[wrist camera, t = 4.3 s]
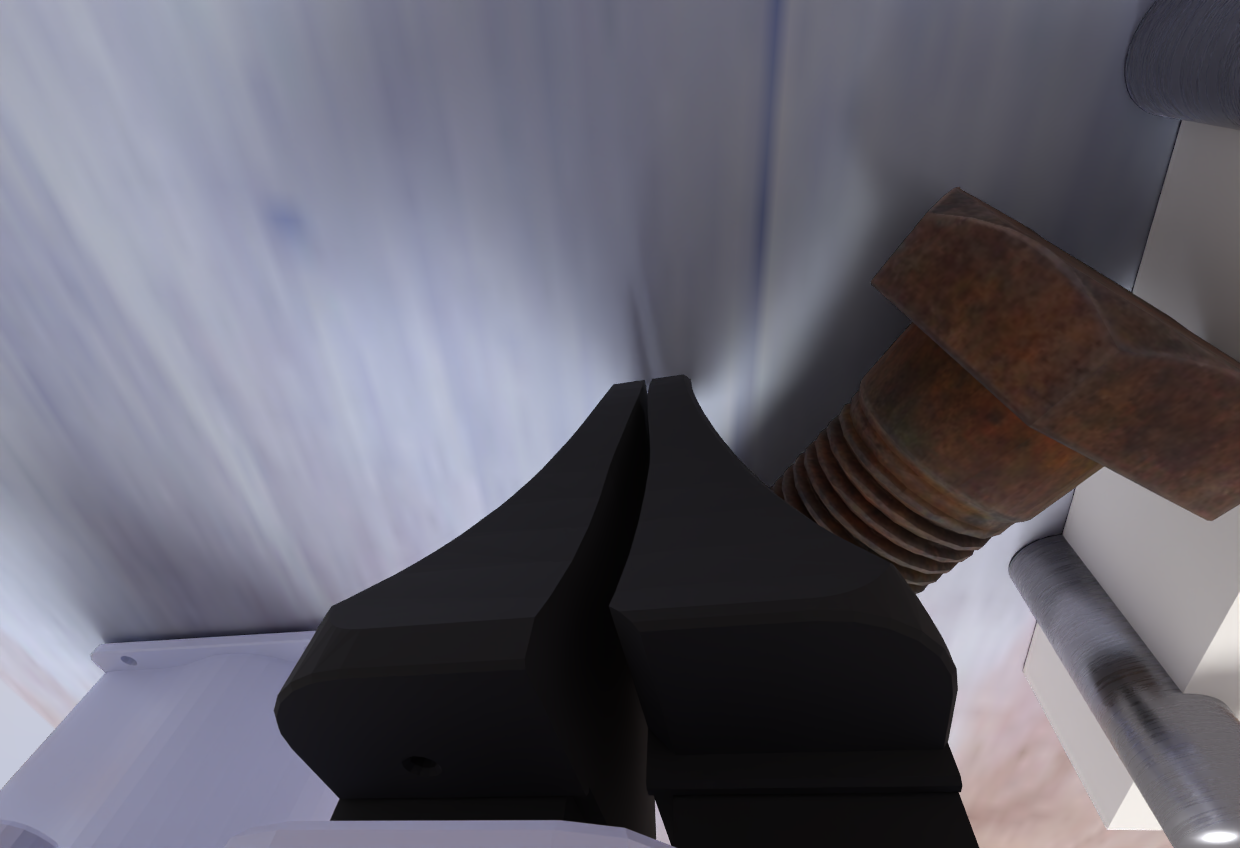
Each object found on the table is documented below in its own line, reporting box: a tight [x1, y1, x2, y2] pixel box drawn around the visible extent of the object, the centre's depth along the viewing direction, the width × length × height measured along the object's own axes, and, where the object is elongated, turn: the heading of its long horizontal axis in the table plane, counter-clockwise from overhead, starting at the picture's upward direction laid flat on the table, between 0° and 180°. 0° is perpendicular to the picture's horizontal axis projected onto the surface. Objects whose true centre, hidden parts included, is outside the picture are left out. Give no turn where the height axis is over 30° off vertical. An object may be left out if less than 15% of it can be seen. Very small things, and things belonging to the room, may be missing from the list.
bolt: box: [770, 187, 1240, 594], centre depth 12 cm, size 6×5×15 cm
